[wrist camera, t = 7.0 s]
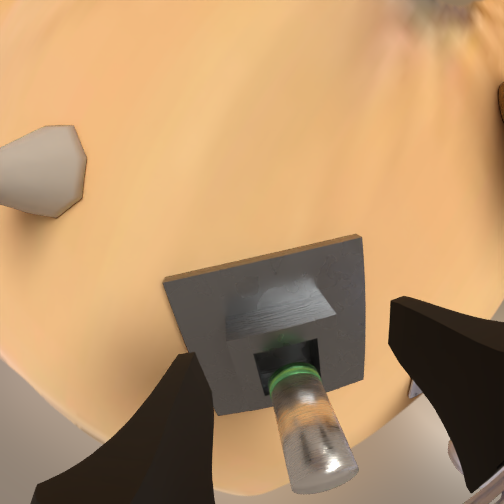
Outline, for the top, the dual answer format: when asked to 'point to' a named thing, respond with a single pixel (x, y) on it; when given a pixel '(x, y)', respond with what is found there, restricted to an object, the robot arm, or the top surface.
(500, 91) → the plant pot
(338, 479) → the steel column
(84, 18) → the top surface
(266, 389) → the charcoal stand
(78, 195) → the flask
